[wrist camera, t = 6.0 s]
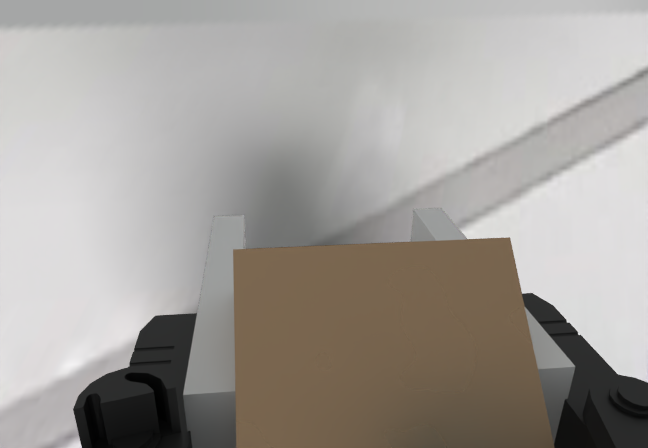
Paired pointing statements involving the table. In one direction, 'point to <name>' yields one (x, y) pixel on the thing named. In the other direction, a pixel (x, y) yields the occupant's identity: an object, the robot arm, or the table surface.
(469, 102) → the table surface
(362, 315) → the plunger
